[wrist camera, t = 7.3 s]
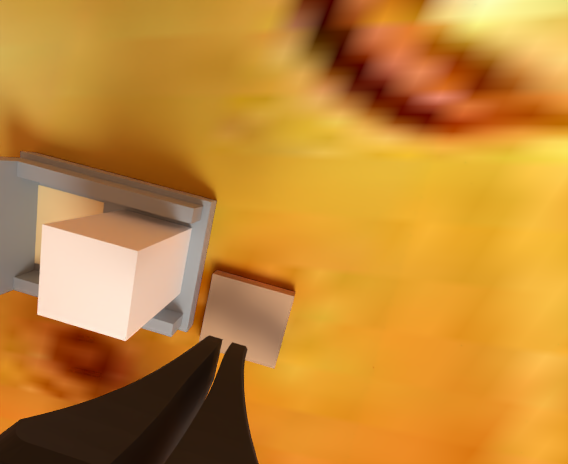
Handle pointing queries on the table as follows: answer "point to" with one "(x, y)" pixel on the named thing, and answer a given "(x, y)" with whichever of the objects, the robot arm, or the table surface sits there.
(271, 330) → the stand
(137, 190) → the tray
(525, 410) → the table surface
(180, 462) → the robot arm
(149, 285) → the block
